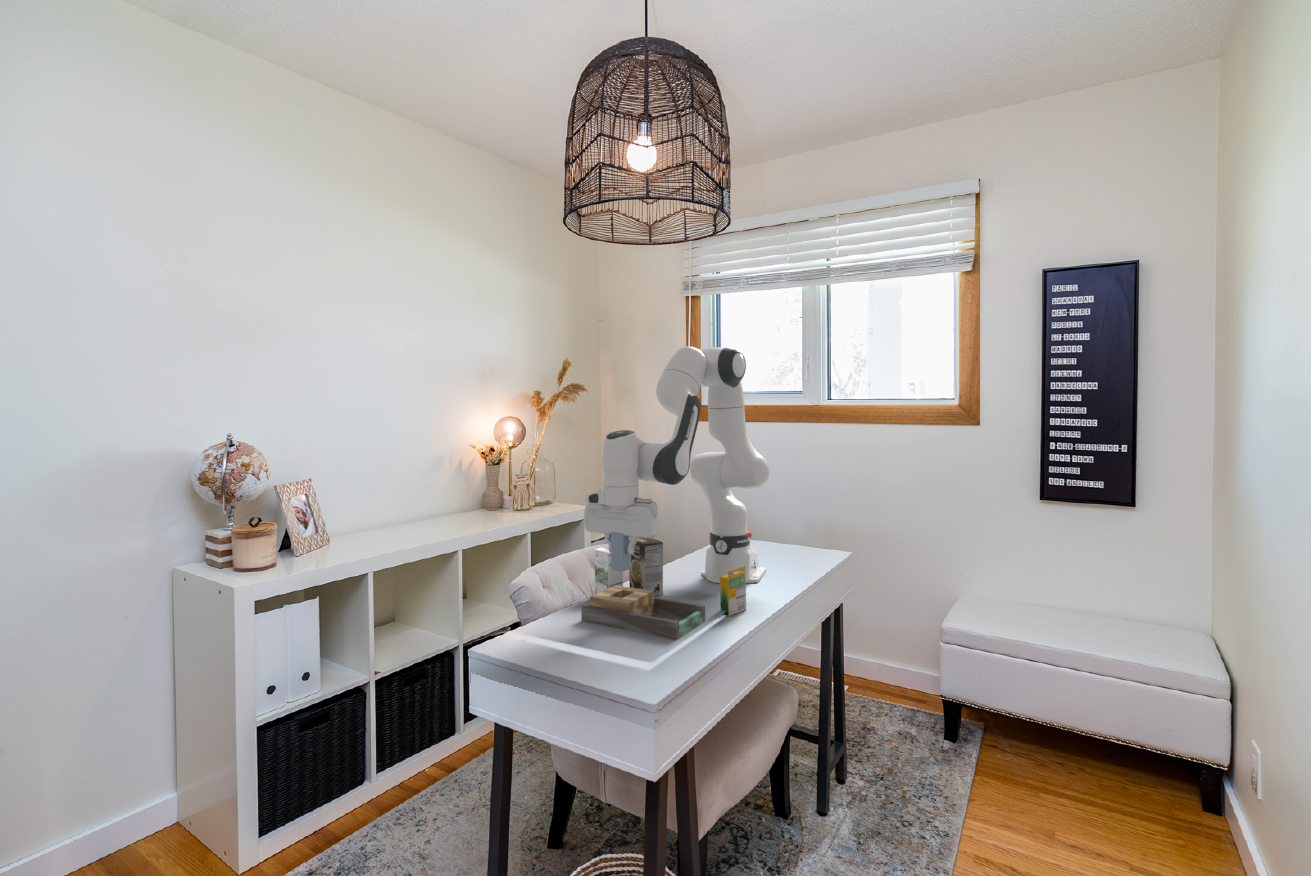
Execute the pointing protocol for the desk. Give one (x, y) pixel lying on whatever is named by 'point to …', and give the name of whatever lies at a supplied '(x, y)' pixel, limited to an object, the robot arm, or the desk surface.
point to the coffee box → (647, 566)
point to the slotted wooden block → (625, 600)
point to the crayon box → (733, 592)
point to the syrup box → (605, 571)
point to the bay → (650, 618)
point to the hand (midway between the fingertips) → (621, 552)
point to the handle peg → (619, 552)
